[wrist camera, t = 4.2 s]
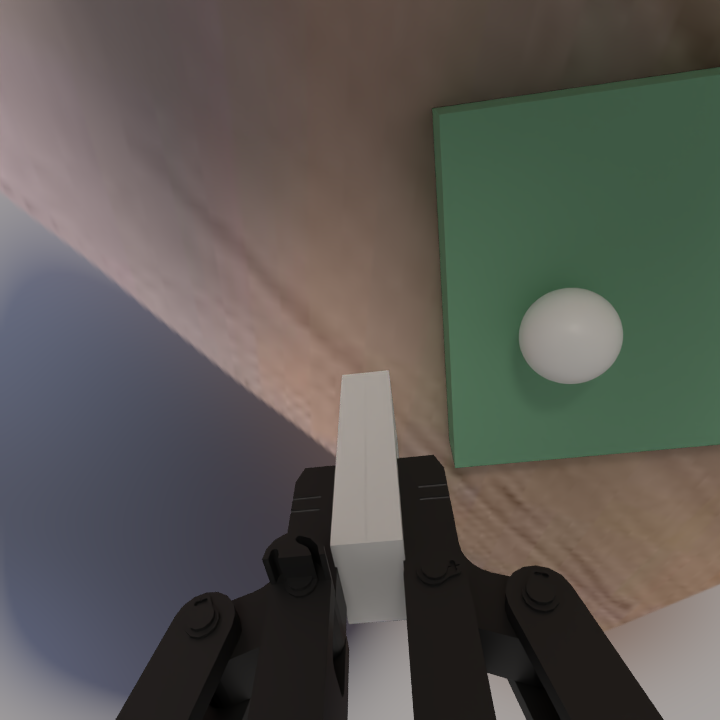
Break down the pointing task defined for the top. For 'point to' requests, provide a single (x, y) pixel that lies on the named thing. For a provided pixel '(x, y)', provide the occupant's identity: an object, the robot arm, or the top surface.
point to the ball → (570, 335)
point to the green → (582, 264)
